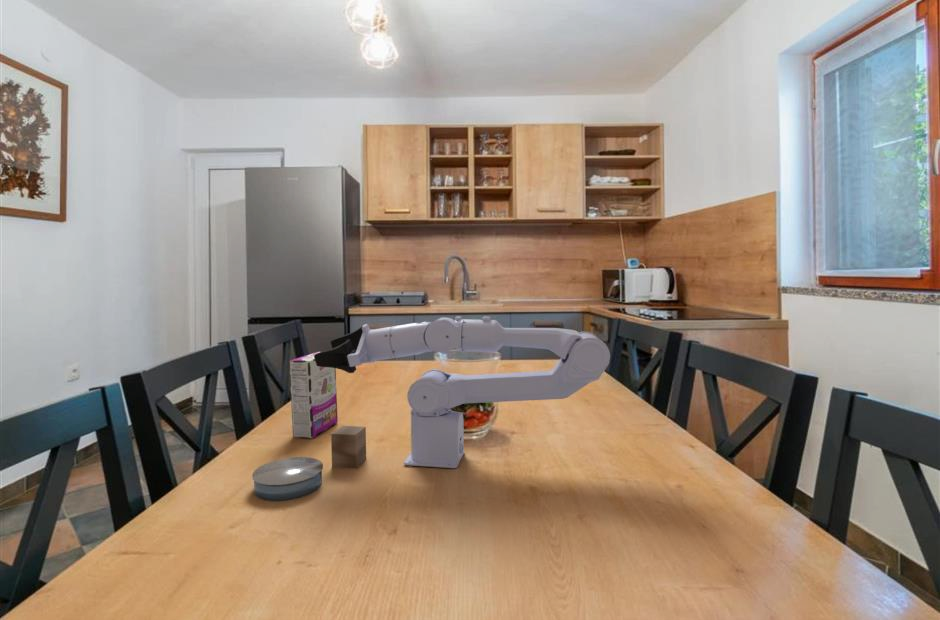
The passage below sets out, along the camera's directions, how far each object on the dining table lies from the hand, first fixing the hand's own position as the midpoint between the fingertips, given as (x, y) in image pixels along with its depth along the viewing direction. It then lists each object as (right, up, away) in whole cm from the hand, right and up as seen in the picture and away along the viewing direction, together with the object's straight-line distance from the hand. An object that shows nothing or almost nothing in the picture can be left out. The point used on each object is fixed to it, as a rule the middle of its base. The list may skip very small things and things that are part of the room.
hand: (324, 352), depth 87 cm
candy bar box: (-7, -18, +15) cm, 25 cm away
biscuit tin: (-2, -20, -12) cm, 24 cm away
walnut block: (+5, -19, -3) cm, 20 cm away
